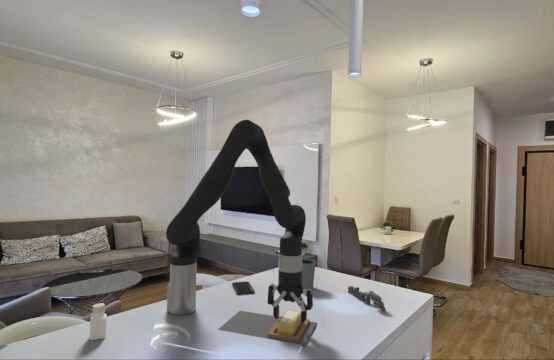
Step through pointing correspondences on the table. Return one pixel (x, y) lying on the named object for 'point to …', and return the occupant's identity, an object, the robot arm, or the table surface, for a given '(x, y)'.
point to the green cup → (308, 273)
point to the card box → (289, 323)
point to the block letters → (367, 297)
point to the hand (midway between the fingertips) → (289, 320)
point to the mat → (266, 327)
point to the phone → (243, 288)
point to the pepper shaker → (98, 322)
